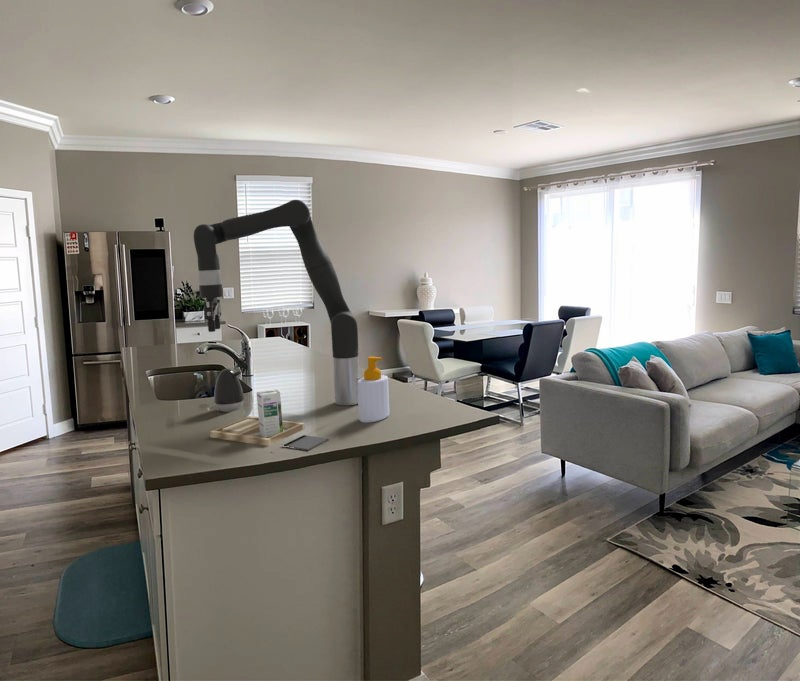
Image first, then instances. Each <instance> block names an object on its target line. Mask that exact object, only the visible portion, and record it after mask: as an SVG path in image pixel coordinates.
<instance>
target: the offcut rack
mask: <svg viewBox="0 0 800 681" xmlns="http://www.w3.org/2000/svg"><path fill="white" fill-rule="evenodd" d="M246 419H252V420H259V416H258V417H257V416H246V417H244V418H241V419H239V420H236V421H234V422H231V423H227V424H226V425H224V426H221V427H218V428H215V429H212V430H210V431H209V438H212V439H220V440H225V441H226V440H227V441H233V442H240V443H247V444H254V445H258V446H267V447H269V446H272V445H275V444H276V443H278V442H280V441H282V440H285V439H286V438H289V437H290V436H293V435H295V434H297V433H299V432H301V431H303V430H305V429H306V423H305V422H300V421H290V420H283V419H282V425H283V428H284V429H285V430H283V432H281V433H278V434H276V435H274V436H272V437H270V438H263V437H262V436H254V435H257V434H260V428H259V426H256V427H254V428H252V429H249V430H247V431H244V432H242V433H240V434H235V433H228V432H223V430H222V429H223V428H226V427H228V426H231V425H233V424H236V423H238V422H241V421H244V420H246Z"/></svg>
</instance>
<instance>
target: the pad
mask: <svg viewBox="0 0 800 681" xmlns="http://www.w3.org/2000/svg"><path fill="white" fill-rule="evenodd" d="M327 440H328V441H329V440H330V439H329V438H328V437H322V436H321V437H320V436H313V435H312V436H311V435H306V434H303V435H301V436H298V437H296V438H295V439H293V440H291V441H288V442H287V443H285V444H283V445H284V446H289V447H294V448H298V449H297V450H299V449H303V450H302V451H306V450H308V452H309V451H311V450H313V449H315V448H317V447H319V446H320V444H321V445H322V444H324V443H326V442H328V441H327ZM325 441H326V442H325ZM323 442H324V443H323ZM318 445H319V446H318ZM316 446H317V447H316ZM314 447H315V448H314ZM312 448H313V449H312ZM310 449H311V450H310Z"/></svg>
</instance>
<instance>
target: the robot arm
mask: <svg viewBox="0 0 800 681" xmlns="http://www.w3.org/2000/svg"><path fill="white" fill-rule="evenodd" d="M284 227H285V228H286V227H289V229H290V230H291V232H292V234H293V236H294V238H295V239H296V242H297V245H298V246H299V252H300V255H301V258H302V261H303V265H304V267H305V270H306V272H307V274H308V277H309V279H310V282H311V284H312V285H313V286H312V287H313V288H314V289H315V291H316V292H317V294H318V296H319V297H320V299H321V301H322V303H323V305H324V307H325V309H326V311H327V316H328V318H329V322H330V330H331V351H332V365H333V366H332V367H333V384H334V385H333V386H334V388H333V389H334V403H335V405H338V406H355V405H358V388H357V382H358V380H360V379H361V378H360V365H359V364H360V362H359V335H358V334H359V333H358V332H359V331H358V322H357V320H356V318H355V316H354V315H353V313H352V312H351V310H350V307H349V306H348V304H347V302H346V300H345V299H344V298H345V297H344V296H343V293H342V289H341V285H340V282H339V278H338V275H337V272H336V270H335V268H334V265H333V262H332V261H331V258H330V257H329V255H328V253H327V250H326V249H325V247H324V245H323V244H322V242H321V240H320V239H319V237H318V234H317V233H316V232H317V231H316V228H315V226H314V223H313V219H312V216H311V211H310V208H309V206H308V205H307V204H306V202H304V201H302V200H300V199H292V200H290V201H288V202H286V203H284V204H281V205H279V206H276V207H273V208H271V209H268V210H264V211H260V212H256V213H255V212H254V213H250V214H245V215H240V216H235V217H232V218H228V219H225V220H223V221H222V222H217V223H213V224H204V223H203V224H199V225H197V226H196V227H195V229H194V231H193V242H194V247H195V252H196V255H197V266H198V267H197V269H198V288H199V297H200V298H201V299H206V301H204V302H203V307H204V319H205V321H207V329H208V330H207V331H208V332H209V333H213V332H216V330H220V329H221V316H222V311H221V310H222V309H221V301H220V299H218V298H222V297H223V296H224V292H223V291H224V290H223V282H222V281H223V280H222V274H221V270H220V269H221V268H220V266H221V265H220V258H219V255H218V252H217V245H218V244H221V243H224V242H228V241H233V240H238V239H241V238H245V237H249V236H253V235H255V234H259V233H261V232H264V231H267V230H271V229H276V228H284Z"/></svg>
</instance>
